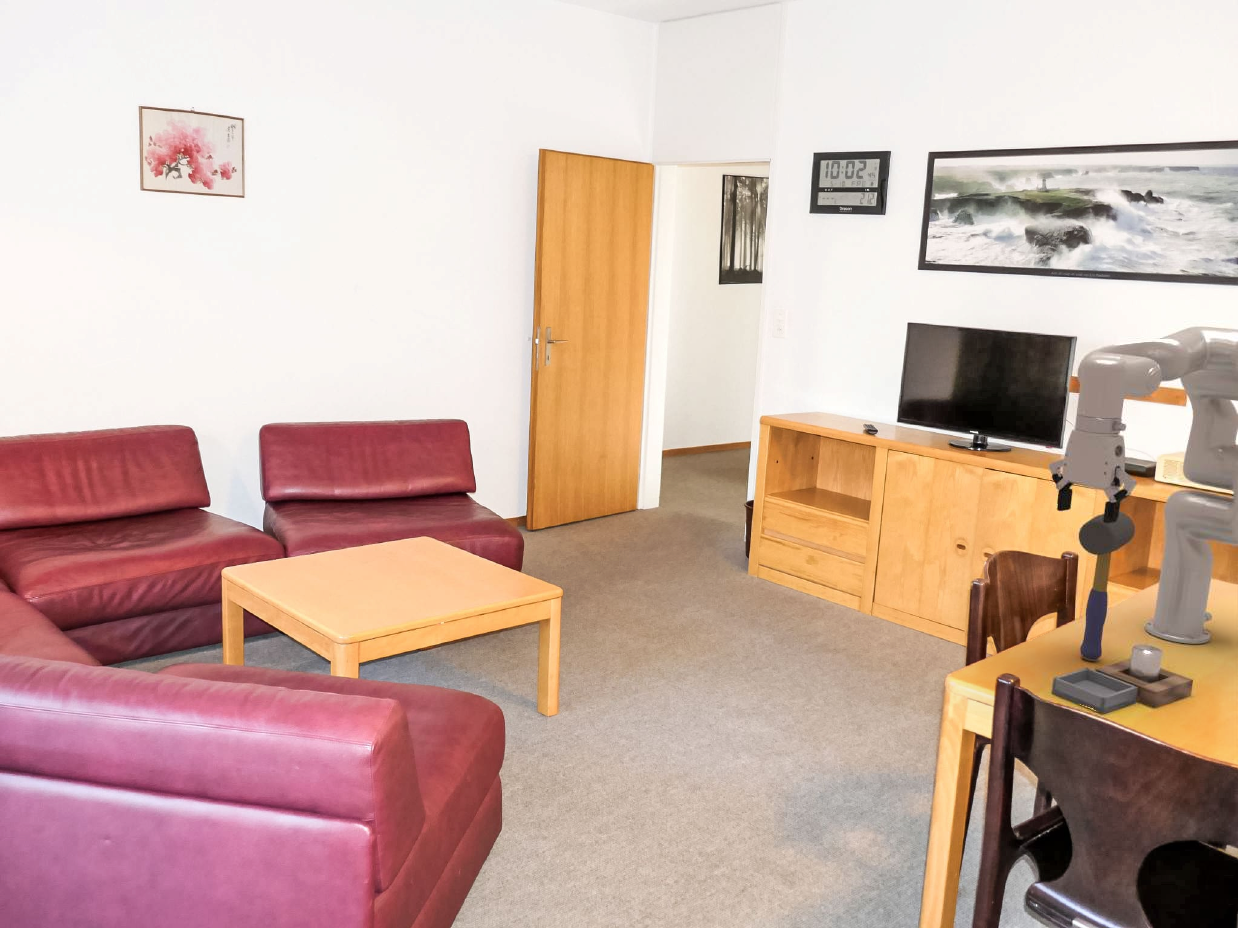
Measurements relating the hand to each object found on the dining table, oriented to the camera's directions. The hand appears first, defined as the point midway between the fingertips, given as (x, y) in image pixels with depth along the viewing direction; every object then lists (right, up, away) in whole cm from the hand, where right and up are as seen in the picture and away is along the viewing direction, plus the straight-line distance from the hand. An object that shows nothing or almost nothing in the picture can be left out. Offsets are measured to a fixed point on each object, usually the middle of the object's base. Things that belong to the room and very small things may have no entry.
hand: (1086, 516), depth 198 cm
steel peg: (+11, -33, +1) cm, 34 cm away
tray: (0, -33, -4) cm, 33 cm away
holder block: (+11, -32, +1) cm, 34 cm away
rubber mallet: (+7, -30, +15) cm, 34 cm away
